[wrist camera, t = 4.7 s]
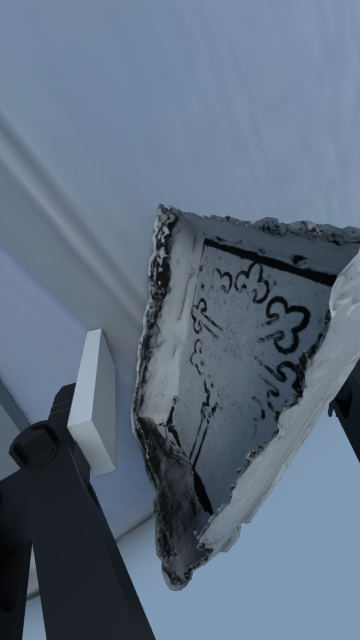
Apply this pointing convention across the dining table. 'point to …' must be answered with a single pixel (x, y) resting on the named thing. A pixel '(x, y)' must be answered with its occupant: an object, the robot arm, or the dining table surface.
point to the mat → (9, 431)
